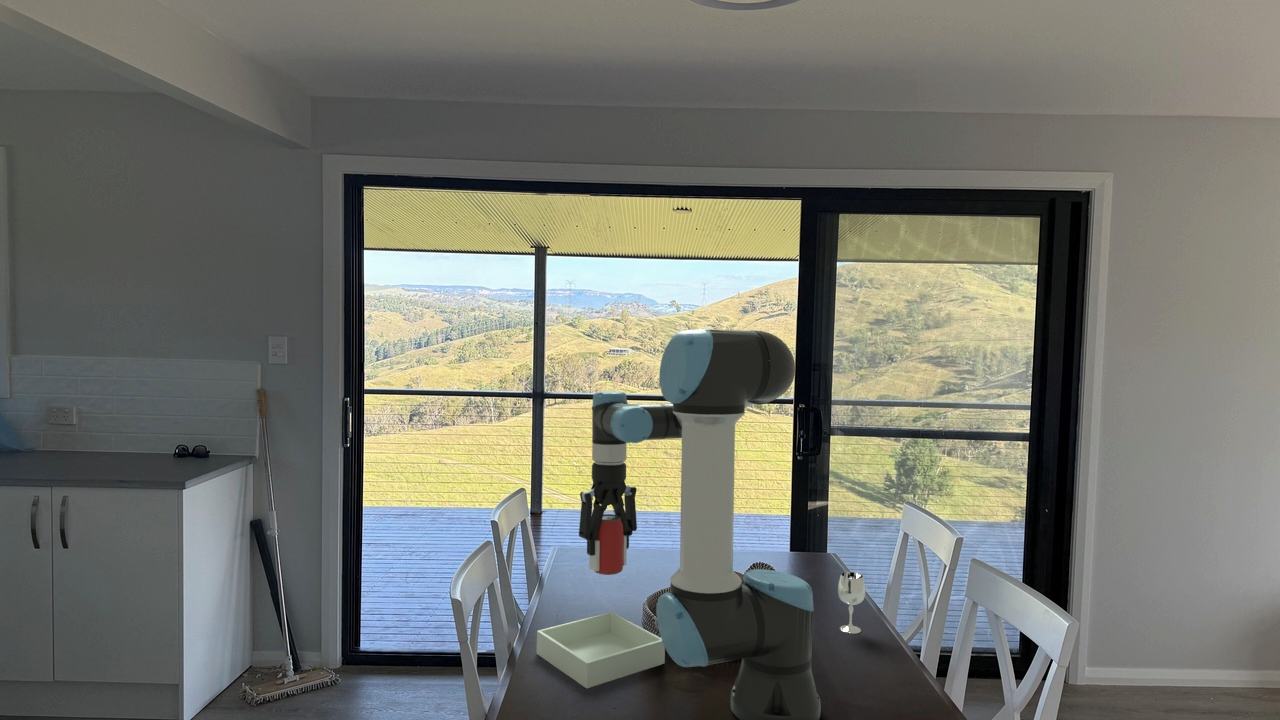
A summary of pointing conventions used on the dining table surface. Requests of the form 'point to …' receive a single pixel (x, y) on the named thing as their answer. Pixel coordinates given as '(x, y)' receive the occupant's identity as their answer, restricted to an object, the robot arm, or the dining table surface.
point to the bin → (600, 648)
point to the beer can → (610, 545)
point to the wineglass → (851, 595)
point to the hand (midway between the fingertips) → (608, 566)
